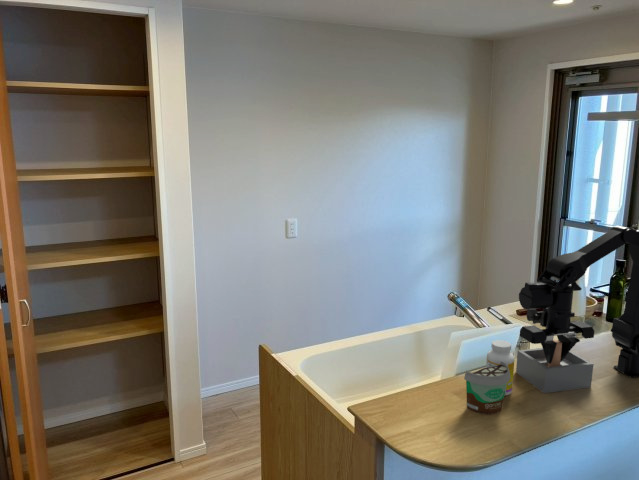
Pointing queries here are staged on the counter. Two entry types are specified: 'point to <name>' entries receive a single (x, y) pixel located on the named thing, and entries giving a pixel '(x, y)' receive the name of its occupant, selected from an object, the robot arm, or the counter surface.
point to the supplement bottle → (502, 359)
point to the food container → (487, 389)
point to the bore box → (554, 371)
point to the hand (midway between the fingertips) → (554, 362)
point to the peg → (556, 355)
